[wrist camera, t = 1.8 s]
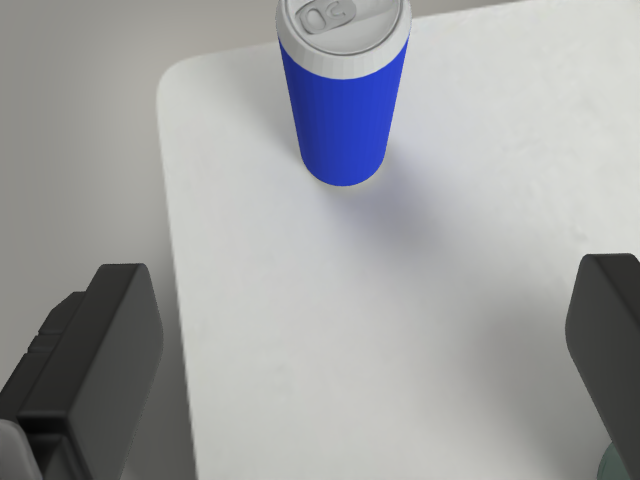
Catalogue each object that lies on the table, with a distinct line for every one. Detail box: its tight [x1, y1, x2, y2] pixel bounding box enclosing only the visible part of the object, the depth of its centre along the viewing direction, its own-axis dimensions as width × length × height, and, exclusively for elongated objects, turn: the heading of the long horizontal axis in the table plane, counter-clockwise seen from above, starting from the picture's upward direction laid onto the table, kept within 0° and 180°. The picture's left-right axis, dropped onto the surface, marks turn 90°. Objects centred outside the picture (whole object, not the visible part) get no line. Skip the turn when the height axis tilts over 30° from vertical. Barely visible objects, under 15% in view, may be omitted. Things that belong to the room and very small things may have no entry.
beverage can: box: [276, 0, 412, 186], centre depth 29 cm, size 5×5×15 cm
